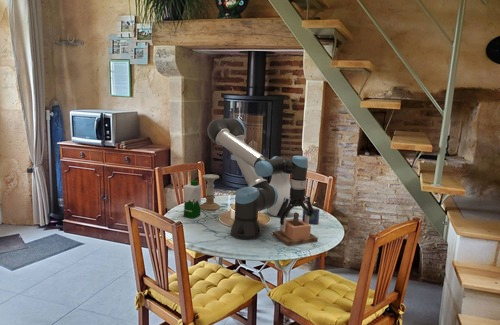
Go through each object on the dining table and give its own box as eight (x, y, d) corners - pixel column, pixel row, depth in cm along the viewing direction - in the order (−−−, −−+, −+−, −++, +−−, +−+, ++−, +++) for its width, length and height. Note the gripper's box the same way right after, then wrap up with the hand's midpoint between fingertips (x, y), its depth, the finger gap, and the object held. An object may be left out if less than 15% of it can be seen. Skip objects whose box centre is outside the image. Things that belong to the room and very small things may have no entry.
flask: (318, 223, 211) (320, 205, 209) (317, 225, 208) (319, 206, 206) (302, 221, 214) (303, 203, 212) (301, 222, 211) (302, 204, 210)
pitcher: (286, 219, 215) (289, 172, 210) (259, 214, 222) (262, 168, 217) (299, 209, 236) (302, 166, 231) (274, 205, 243) (277, 163, 238)
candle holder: (195, 208, 229) (196, 176, 226) (208, 203, 239) (208, 173, 236) (211, 212, 223) (212, 179, 219) (223, 207, 233) (224, 175, 230)
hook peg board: (287, 246, 177) (289, 218, 174) (272, 235, 190) (273, 209, 188) (317, 241, 184) (319, 215, 182) (300, 231, 197) (302, 206, 195)
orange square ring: (292, 240, 179) (293, 228, 178) (280, 231, 190) (280, 220, 189) (310, 237, 184) (310, 225, 183) (296, 229, 194) (297, 218, 193)
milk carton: (202, 215, 217) (203, 181, 213) (194, 219, 208) (195, 184, 205) (189, 212, 220) (190, 179, 216) (181, 217, 212) (181, 182, 208)
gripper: (279, 191, 174) (276, 234, 178) (323, 188, 185) (319, 229, 189) (271, 187, 181) (269, 229, 184) (314, 184, 191) (311, 224, 195)
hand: (294, 229), depth 186 cm, fingers open, 13 cm apart
